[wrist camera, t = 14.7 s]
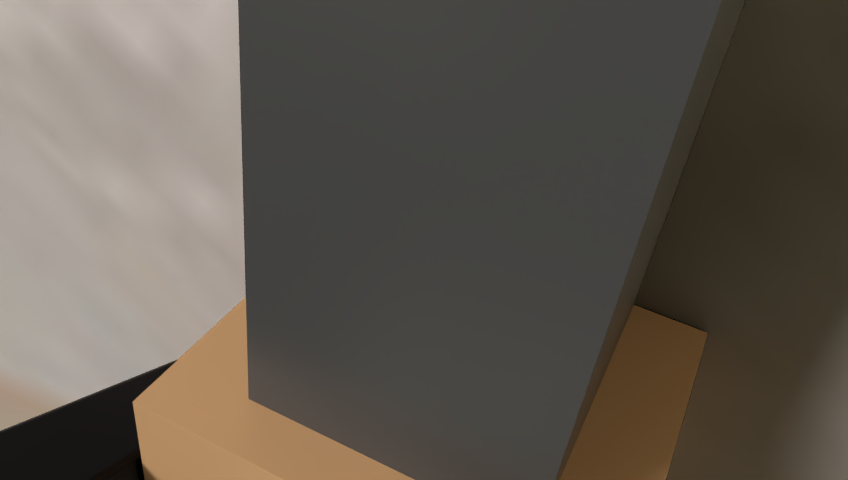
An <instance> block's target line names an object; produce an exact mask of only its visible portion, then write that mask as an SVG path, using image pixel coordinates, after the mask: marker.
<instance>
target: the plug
mask: <svg viewBox="0 0 848 480" xmlns="http://www.w3.org/2000/svg"><path fill="white" fill-rule="evenodd" d="M744 3H745V0H238V7H239V46H240V85H241V124H242V163H243V202H244V241H245V280H246V297H245V298H244V299H243V300H242V301H241V302H240V303H239V304H238V305H237V306H236V307H234V308H233V309H232V310H231V311H230V312H229V313H228V314H227V315H226V316H225V317H224V318H223V319H221V320H220V321H219V322H218V323H217V324H216V325H215V326H214V327H213V328H212V329H211V330H210V331H208V332H207V333H206V334H205V335H204V336H203V337H202V338H201V339H200V340H199V341H198V342H197V343H196V344H194V345H193V346H192V347H191V348H190V349H189V350H188V351H187V352H186V353H185V354H184V355H183V356H181V357H180V358H179V359H178V360H177V361H176V362H175V363H174V364H173V365H172V366H171V367H170V368H168V369H167V370H166V371H165V372H164V373H163V374H162V375H161V376H160V377H159V378H158V379H157V380H156V381H154V382H153V383H152V384H151V385H150V386H149V387H148V388H147V389H146V390H145V391H144V392H143V393H141V394H140V395H139V396H138V397H137V398H136V399H135V400H134V401H133V408H134V414H135V421H136V427H137V434H138V440H139V447H140V453H141V459H142V466H143V472H144V479H145V480H666V478H667V474H668V471H669V467H670V464H671V460H672V457H673V453H674V450H675V446H676V443H677V439H678V436H679V432H680V429H681V425H682V422H683V419H684V415H685V412H686V408H687V405H688V401H689V398H690V394H691V391H692V387H693V384H694V380H695V377H696V373H697V370H698V366H699V363H700V360H701V356H702V353H703V349H704V346H705V342H706V339H707V335H708V333H706V332H704V331H701V330H698V329H696V328H693V327H691V326H688V325H685V324H683V323H680V322H677V321H675V320H672V319H670V318H667V317H664V316H662V315H659V314H657V313H654V312H651V311H649V310H646V309H643V308H641V307H638V306H636V305H634V303H635V300H636V298H637V295H638V292H639V289H640V287H641V284H642V281H643V278H644V276H645V273H646V270H647V267H648V265H649V262H650V259H651V257H652V254H653V251H654V248H655V246H656V243H657V240H658V237H659V235H660V232H661V229H662V227H663V224H664V221H665V218H666V216H667V213H668V210H669V207H670V205H671V202H672V199H673V196H674V194H675V191H676V188H677V186H678V183H679V180H680V177H681V175H682V172H683V169H684V166H685V164H686V161H687V158H688V155H689V153H690V150H691V147H692V145H693V142H694V139H695V136H696V134H697V131H698V128H699V125H700V123H701V120H702V117H703V115H704V112H705V109H706V106H707V104H708V101H709V98H710V95H711V93H712V90H713V87H714V84H715V82H716V79H717V76H718V74H719V71H720V68H721V65H722V63H723V60H724V57H725V54H726V52H727V49H728V46H729V43H730V41H731V38H732V35H733V33H734V30H735V27H736V24H737V22H738V19H739V16H740V13H741V11H742V8H743V5H744Z"/></svg>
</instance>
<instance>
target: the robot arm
mask: <svg viewBox="0 0 848 480" xmlns="http://www.w3.org/2000/svg"><path fill="white" fill-rule="evenodd" d="M176 361H177V360H175V361H173V362H170V363H168V364H165V365H163V366H160V367H158V368H155V369H153V370H150V371H148V372H145V373H143V374H140V375H138V376H135V377H133V378H131V379H128V380H126V381H123V382H121V383H118V384H116V385H113V386H111V387H108V388H106V389H103V390H101V391H98V392H96V393H93V394H91V395H88V396H86V397H83V398H81V399H78V400H76V401H73V402H71V403H68V404H66V405H64V406H61V407H59V408H56V409H54V410H51V411H49V412H46V413H44V414H41V415H39V416H36V417H34V418H31V419H29V420H26V421H24V422H21V423H19V424H17V425H14V426H11V427H9V428H7V429H4V430H1V431H0V480H145V479H144V472H143V466H142V459H141V453H140V447H139V440H138V434H137V427H136V421H135V414H134V408H133V401H134V400H135V399H136V398H137V397H138V396H139V395H140V394H141V393H143V392H144V391H145V390H146V389H147V388H148V387H149V386H150V385H151V384H152V383H153V382H154V381H156V380H157V379H158V378H159V377H160V376H161V375H162V374H163V373H164V372H165V371H166V370H167V369H168V368H170V367H171V366H172V365H173V364H174V363H175V362H176Z"/></svg>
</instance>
